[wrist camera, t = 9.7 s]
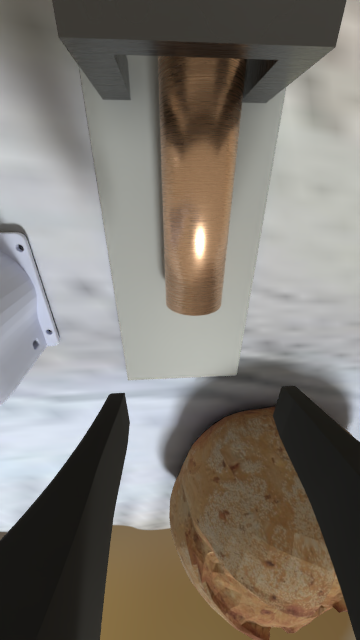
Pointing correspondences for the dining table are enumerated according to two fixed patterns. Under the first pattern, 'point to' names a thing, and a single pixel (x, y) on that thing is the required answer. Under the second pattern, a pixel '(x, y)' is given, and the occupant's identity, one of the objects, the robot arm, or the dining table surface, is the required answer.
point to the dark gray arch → (199, 37)
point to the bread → (251, 529)
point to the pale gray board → (148, 235)
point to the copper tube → (198, 174)
